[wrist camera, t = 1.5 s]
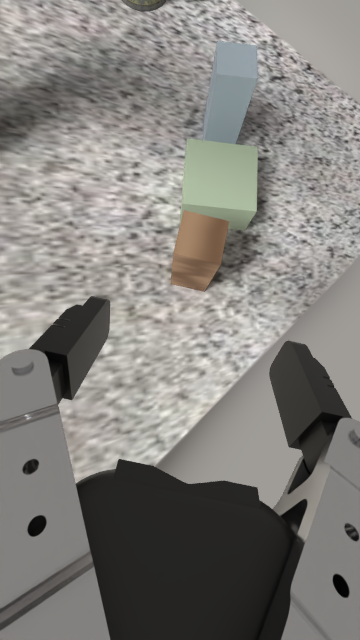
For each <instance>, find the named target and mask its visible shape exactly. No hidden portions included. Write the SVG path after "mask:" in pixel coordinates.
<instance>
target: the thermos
mask: <svg viewBox="0 0 360 640" xmlns="http://www.w3.org/2000/svg"><path fill="white" fill-rule="evenodd" d="M122 1H123V2H124V3H125V4H126V5H127V6H129V7H131V8H133V9H135V10H139V11H151V10H155V9H157V8H159V7H161V6H162V5H163V4H164V2H165V1H166V0H122Z"/></svg>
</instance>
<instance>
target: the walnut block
mask: <svg viewBox="0 0 360 640" xmlns="http://www.w3.org/2000/svg"><path fill="white" fill-rule="evenodd" d="M228 226H229V221H227V220H223V219H219V218H214V217H210V216H206V215H202V214H198V213H194V212H189V211H185V210H184V211H183V215H182V219H181V224H180V228H179V232H178V236H177V240H176V245H175V249H174V253H173V264H172V275H171V284H174V285H178V286H183V287H187V288H191V289H196V290H200V291H205V290H206V288H207V286H208V285H209V283H210V281H211V280H212V278H213V276H214V275H215V273H216V272H217V270H218V268H219V267H220V265H221V261H222V256H223V251H224V246H225V241H226V236H227V231H228Z"/></svg>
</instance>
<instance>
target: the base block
mask: <svg viewBox="0 0 360 640" xmlns="http://www.w3.org/2000/svg"><path fill="white" fill-rule="evenodd" d="M257 165H258V147H255V146H247V145H238V144H230V143H222V142H214V141H206V140H198V139H189V138H187V144H186V153H185V163H184V175H183V188H182V201H181V214H180V224H181V219H182V215H183V211H184V210H185V211H189V212H194V213H198V214H202V215H206V216H210V217H214V218H219V219H223V220H227V221H229V226H228V229H235V230H245V229H246V228H247V226H248V224H249V223H250V221H251V220H252V218H253V217H254V215H255V213H256V212H257Z"/></svg>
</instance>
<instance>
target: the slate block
mask: <svg viewBox="0 0 360 640" xmlns="http://www.w3.org/2000/svg"><path fill="white" fill-rule="evenodd" d="M257 79H258V73H257V46H256V45H247V44H239V43H231V42H223V41H217V45H216V51H215V57H214V63H213V69H212V75H211V81H210V86H209V92H208V98H207V104H206V110H205V116H204V125H203V140H206V141H214V142H222V143H230V144H236V141H237V138H238V136H239V133H240V130H241V127H242V124H243V121H244V118H245V115H246V112H247V109H248V106H249V103H250V100H251V97H252V94H253V91H254V88H255V85H256V82H257Z"/></svg>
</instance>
